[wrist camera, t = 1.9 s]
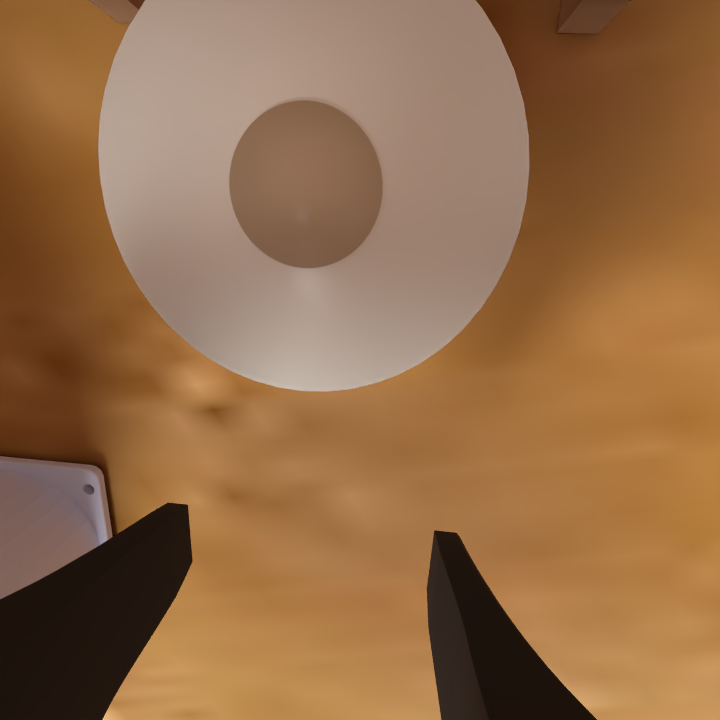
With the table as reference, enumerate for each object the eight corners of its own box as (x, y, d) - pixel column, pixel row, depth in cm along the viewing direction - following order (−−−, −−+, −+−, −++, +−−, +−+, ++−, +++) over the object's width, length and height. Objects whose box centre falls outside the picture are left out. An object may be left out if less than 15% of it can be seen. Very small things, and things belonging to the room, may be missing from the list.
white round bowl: (456, 343, 15) (493, 408, 9) (222, 325, 16) (120, 377, 10) (492, 62, 13) (574, -88, 7) (210, 53, 13) (64, -91, 7)
